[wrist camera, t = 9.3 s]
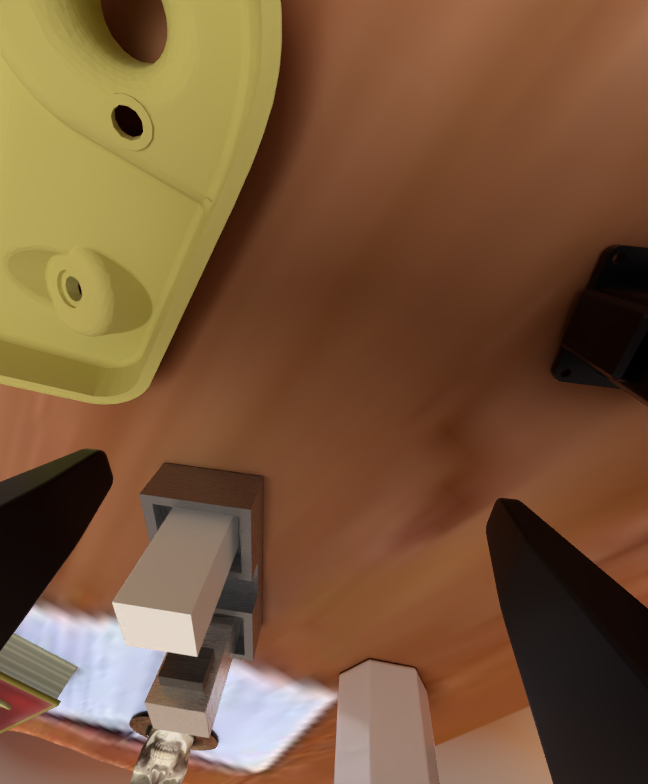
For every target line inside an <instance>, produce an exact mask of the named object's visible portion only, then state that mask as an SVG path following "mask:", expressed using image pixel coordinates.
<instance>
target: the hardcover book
mask: <svg viewBox="0 0 648 784" xmlns="http://www.w3.org/2000/svg"><path fill="white" fill-rule="evenodd" d="M76 668H77V666H75V665H73V664H71V663H69V662H67V661H65V660H63V659H61V658H60V657H58V656H56V655H54V654H52V653H50V652H48V651H46V650H44V649H42V648H41V647H39V646H37V645H35V644H33V643H31V642H29V641H27V640H25V639H24V638H22V637H20V636H18V635H16V634H14V633H13V635H12V636H11V638H10V639H9V640H8V642H7V643H6V645H5V646H4V647H3V649H2V650H1V651H0V733H2V732H4V731H6V730H9V729H11V728H13V727H15V726H17V725H19V724H21V723H23V722H25V721H27V720H29V719H32V718H34V717H36V716H38V715H40V714H42V713H44V712H46V711H48V710H50V709H52V708H54V707H57V706H58V705H59V703H60V702H61V701H59V700H57V698H58V697H59V695H60V693H61V692H62V690H63V689H64V687H65V686H66V684H67V682H68V681H69V679H70V678H71V676H72V675H73V673H74V671H75V670H76Z"/></svg>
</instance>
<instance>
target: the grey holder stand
mask: <svg viewBox="0 0 648 784" xmlns="http://www.w3.org/2000/svg"><path fill="white" fill-rule="evenodd" d="M140 499H141V503H142V508H143V513H144V517H145V522H146V526H147V531H148V535H149V540H150V542H151V541H152V539H153V537H154V536H155V534H156V533H157V531H158V530H159V528H160V527H161V525H162V524H163V522H164V520H165V519H166V517H167V516H168V514H169V513H170V511H171V510H172V508H173V507H177V508H184V509H191V510H198V511H205V512H212V513H219V514H226V515H233V516H237V521H238V549H237V551H236V554H235V557H234V560H233V562H232V565H231V568H230V570H229V573H228V576H227V578H226V581H225V584H224V587H223V589H222V592H221V595H220V597H219V600H218V603H217V605H216V608H215V611H214V613H213V616H212V619H211V622H210V624H209V627H208V630H207V632H206V635H205V638H204V640H203V643H202V646H201V649H200V651H199V654H198V657H195V656H189V655H183V654H177V653H171V652H167V653H166V655H165V657H164V660H163V662H162V664H161V666H160V669H159V671H158V673H157V675H156V678H155V680H154V682H153V684H152V687H151V689H150V691H149V693H148V696H147V698H146V700H145V702H144V703H145V706H146V708H147V711H148V714H149V717H150V720H151V723H152V726H153V728H154V729H159V730H165V731H171V732H177V733H182V734H188V735H194V736H200V737H205V738H209V737H210V734H211V730H212V727H213V724H214V720H215V717H216V713H217V710H218V706H219V703H220V700H221V696H222V693H223V689H224V686H225V682H226V679H227V675H228V672H229V669H230V665H231V662H232V658H238V659H244V660H250V661H253V659H254V655H255V650H256V646H257V642H258V638H259V634H260V630H261V626H262V565H263V476H256V475H249V474H242V473H235V472H227V471H220V470H213V469H206V468H198V467H191V466H184V465H177V464H169V463H164V464H163V465H162V466H161V468H160V469H159V470H158V471H157V473H156V474H155V475H154V476H153V478H152V479H151V480H150V481H149V483H148V484H147V485H146V486H145V488H144V489H143V490H142V491H141V493H140Z"/></svg>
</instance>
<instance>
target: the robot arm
mask: <svg viewBox="0 0 648 784" xmlns="http://www.w3.org/2000/svg"><path fill="white" fill-rule="evenodd" d="M618 252H619V254H620V256H619V259H618V260H617V261H616V262H614V263H613V261H612V260H613V257H614V255H615V254H617V253H618ZM561 343H562V347H561V349H560V351H559V353H558V356H557V358H556V360H555V362H554V365H553V367H552V370H551V373H552V376H554V377H555V378H556V379H557V380H558V381H561V382H569V383H577V384H586V385H594V386H602V387H610V388H619V389H622V390H624V391H625V392H627V393H628V394H630V395H631V396H633V397H634V398H636V399H637V400H639V401H640V402H642V403H643V404H645V405H646V406H648V248H644V247H634V246H624V245H614V246H611V247H609V248H608V249H607V250H605V251H604V253H603V254H602V256H601V258H600V261H599V263H598V265H597V267H596V270H595V272H594V274H593V276H592V279H591V281H590V283H589V285H588V288H587V290H586V292H584V293H583V294H582V296H581V298H580V301H579V303H578V305H577V307H576V310H575V312H574V314H573V317H572V319H571V321H570V323H569V326H568V328H567V330H566V333H565V335H564V337H563V339H562V342H561ZM565 368H567V371H566V372H565V373H563V374H560V372H561V371H562V370H563V369H565ZM112 483H113V475H112V471H111V468H110V465H109V462H108V459H107V455H106V454H105V452H104V451H102V450H97V449H82V450H79V451H77V452H74V453H72V454H69V455H67V456H64V457H62V458H59V459H57V460H54V461H52V462H49V463H47V464H44V465H42V466H39V467H37V468H34V469H32V470H29V471H26V472H24V473H21V474H19V475H16V476H14V477H11V478H9V479H6V480H4V481H1V482H0V651H1V650H2V649H3V647H4V646H5V645H6V643H7V642H8V640H9V639H10V638H11V636H12V635H13V633H14V632H15V631H16V629H17V628H18V626H19V625H20V624H21V622H22V621H23V619H24V618H25V617H26V615H27V614H28V613H29V611H30V610H31V608H32V607H33V606H34V604H35V603H36V601H37V600H38V599H39V597H40V596H41V594H42V593H43V592H44V590H45V589H46V587H47V586H48V585H49V583H50V582H51V581H52V579H53V578H54V576H55V575H56V574H57V572H58V571H59V569H60V568H61V567H62V565H63V564H64V562H65V561H66V560H67V558H68V557H69V555H70V554H71V552H72V551H73V550H74V548H75V547H76V545H77V543H78V542H79V540H80V539H81V537H82V535H83V534H84V532H85V530H86V529H87V527H88V525H89V524H90V522H91V520H92V519H93V517H94V515H95V513H96V512H97V510H98V508H99V507H100V505H101V503H102V502H103V500H104V498H105V497H106V495H107V493H108V491H109V490H110V488H111V486H112ZM486 535H487V541H488V546H489V551H490V556H491V562H492V567H493V572H494V577H495V583H496V588H497V593H498V598H499V602H500V607H501V611H502V614H503V618H504V621H505V625H506V628H507V631H508V635H509V638H510V641H511V645H512V648H513V651H514V655H515V658H516V661H517V665H518V668H519V671H520V675H521V678H522V681H523V685H524V688H525V691H526V695H527V698H528V701H529V705H530V708H531V711H532V715H533V718H534V721H535V725H536V727H537V731H538V735H539V738H540V741H541V744H542V747H543V751H544V754H545V758H546V761H547V764H548V768H549V771H550V774H551V778H552V781H553V784H648V608H646V607H645V606H644V605H643V604H642V603H640V602H639V601H638V600H637V599H636V598H635V597H633V596H632V595H631V594H630V593H629V592H627V591H626V590H625V589H624V588H623V587H622V586H620V585H619V584H618V583H617V582H616V581H614V580H613V579H612V578H611V577H610V576H609V575H607V574H606V573H605V572H604V571H603V570H601V569H600V568H599V567H598V566H597V565H596V564H594V563H593V562H592V561H591V560H590V559H588V558H587V557H586V556H585V555H584V554H583V553H581V552H580V551H579V550H578V549H577V548H575V547H574V546H573V545H572V544H571V543H569V542H568V541H567V540H566V539H565V538H564V537H562V536H561V535H560V534H559V533H558V532H556V531H555V530H554V529H553V528H552V527H551V526H549V525H548V524H547V523H546V522H545V521H543V520H542V519H541V518H540V517H539V516H538V515H536V514H535V513H534V512H533V511H532V510H530V509H529V508H528V507H527V506H526V505H525V504H523V503H522V502H521V501H519V500H516V499H508V498H499V499H497V500H496V502H495V504H494V507H493V509H492V512H491V514H490V517H489V520H488V522H487V526H486Z"/></svg>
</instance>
